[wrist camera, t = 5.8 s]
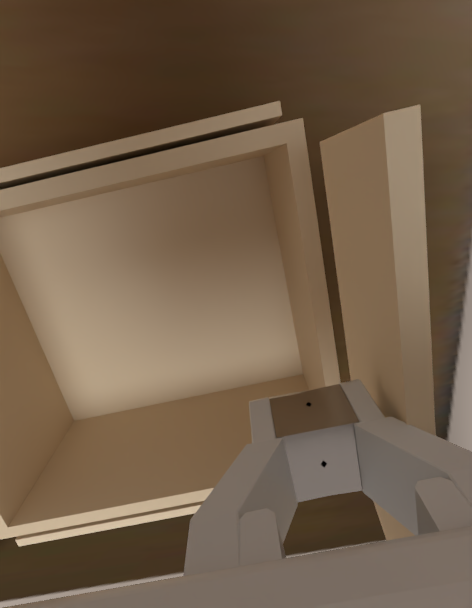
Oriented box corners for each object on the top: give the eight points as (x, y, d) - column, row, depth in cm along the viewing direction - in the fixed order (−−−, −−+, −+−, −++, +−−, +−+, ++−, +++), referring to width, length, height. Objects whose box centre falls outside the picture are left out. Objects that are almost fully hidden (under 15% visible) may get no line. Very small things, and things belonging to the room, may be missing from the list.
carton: (66, 435, 24) (-6, 552, 17) (-40, 202, 19) (-211, 219, 12) (313, 385, 24) (355, 484, 16) (269, 128, 19) (299, 95, 11)
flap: (424, 652, 9) (445, 651, 9) (383, 113, 5) (419, 104, 5) (362, 468, 15) (375, 467, 15) (319, 141, 11) (336, 137, 11)
